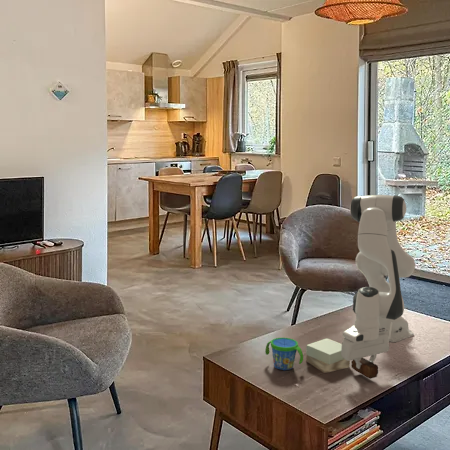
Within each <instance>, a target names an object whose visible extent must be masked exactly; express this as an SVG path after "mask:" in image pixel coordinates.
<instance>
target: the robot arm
mask: <svg viewBox="0 0 450 450" xmlns="http://www.w3.org/2000/svg"><path fill="white" fill-rule="evenodd" d="M405 201H406V200H405V199H404V198H403V197H402V196H401V195H397V194H394V195H389V194H373V195H372V194H369V195H357V196H354V197H353V198H352V199H351V202H350V205H349V213H350V216H351V218H352V219H353V220H355V221H356V222H357V223H359V224H358V231H357V248H358V250H359V252H358V253H357V254H356V257H355V266H356V268H357V269H358V271H360V272H361V273H362V274H363V276H364V277H365V279H366V281H367V283H368V286H365V287H364V286H363V287H360V288H359V289H358V290H357V292H356V293H355V294H354V295H353V297H352V311H353V313H354V314H355V320H354V324H353V325H352V326H351V327H349V328H347V329H346V330H344V331H343V333H342V337H343V339H342V341H341V342H342V343H341V344H342V347H341V356H342V357H343V358H344V359H345V360H347V361H350V362H351V361H352V360H355V362H356V367H357V368H358V369H361V368H362V364H361V363H360V360H361V358H367V357H370V358H369V359H367V360H368V361H370V362H372V363H374V362H375V360H376V358H377V355H381V354H384V353H388V351H389V349H390V342H391V343H397V342H400V341H402V340H406V339H407V338H410V337H414V336H415V333H414V331H412V330H411V329H409V322H408V320H406V319H405V318H404V317H403V315H404V312H405V302H404V299H403V295H402V290H401V281H400V278H401V279H402V278H409V277H411V276H412V275H413V273H414V272H415V269H416V262H415V259H414V258H413V256H412V255H410V254H409V253H408V252H406V251H405V250H404V248H403V247H402V246H401V244H400V242H399V240H398V236H397V222H400V221H402V220H403V219H404V218H405V215H406V213H407V204H406V202H405ZM385 276H386V277H388V281H387V280H386V278H385ZM374 364H375V363H374Z"/></svg>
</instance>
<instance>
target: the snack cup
mask: <svg viewBox="0 0 450 450" xmlns="http://www.w3.org/2000/svg"><path fill="white" fill-rule="evenodd" d="M270 347H271V351H272V361H273V366H274V368H275V369H278V370H282V371H284V372H285V371H289V370H292V369H293V367H294V365H295V361H296V355H297V352H298V354H299V361H298V362H299V363H298V364H299V365H301V364H302V363H303V361H304V354H303V350H302V348H301V347H300V346H299V342H298V341H297V340H295V339H293V338H289V337H276V338H273V339H272V340H269V341H268V342H267V343H266V345H265V355H267V356H269V354H270V353H271V351H270Z"/></svg>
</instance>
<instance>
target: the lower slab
mask: <svg viewBox="0 0 450 450" xmlns="http://www.w3.org/2000/svg"><path fill="white" fill-rule="evenodd" d="M305 357H306V358H305V359H306V360H305V362H307V364H310V365H311V366H313V367H314V368H315V369H317V370H319V371H320V372H322V373H324V374H325V373H326V374H327V373H330V372H331V373H332V372H334V371H340V370H343V369H347V368H350V362H351V360H350V361H347V360H345V359H343V360H340V361H338V362H335V363H332V364H330V365H329V364H327V363H324V362H322V361H320V360H318V359H315V358H313V357H311V356H308V355H306V356H305Z"/></svg>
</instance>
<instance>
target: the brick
mask: <svg viewBox="0 0 450 450" xmlns="http://www.w3.org/2000/svg"><path fill="white" fill-rule="evenodd" d="M368 360H369V359H367V358H366V357H363V358H361V360H360V363H361V364H362V368H361V369H358V368H357V367H356V362H355V360H351V361H350V362H351V368H352V369H353V370H354V371H356V372H358V373H359V374H361V375H362V376H364V377H366V378H367V379H374V378H377V377H378V374H379V365H377V364H376V363H372V362H370V361H368Z"/></svg>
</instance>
